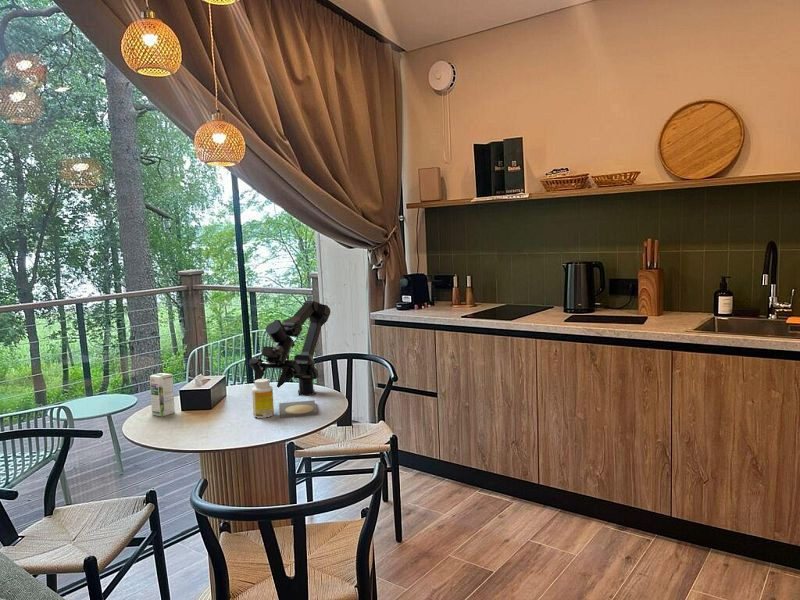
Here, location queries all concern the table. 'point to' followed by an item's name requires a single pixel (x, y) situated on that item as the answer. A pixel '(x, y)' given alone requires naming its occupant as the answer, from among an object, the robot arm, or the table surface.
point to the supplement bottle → (262, 399)
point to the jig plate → (297, 408)
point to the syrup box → (162, 394)
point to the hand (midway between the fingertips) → (266, 386)
